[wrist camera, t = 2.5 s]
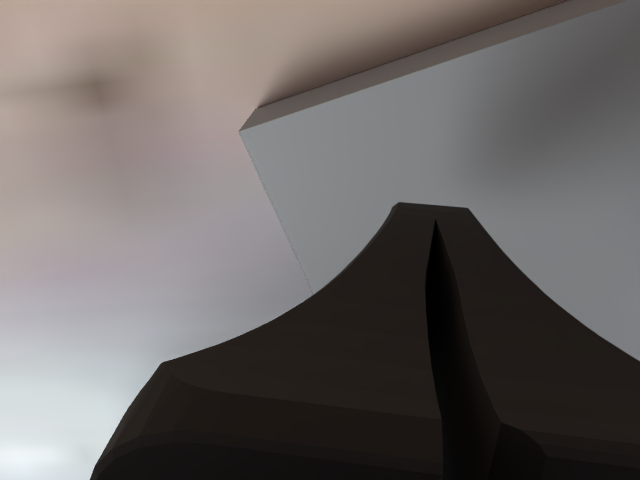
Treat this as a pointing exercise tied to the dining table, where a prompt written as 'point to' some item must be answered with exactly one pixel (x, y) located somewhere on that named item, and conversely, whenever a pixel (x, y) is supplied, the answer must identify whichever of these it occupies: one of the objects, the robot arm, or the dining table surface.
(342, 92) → the dial board
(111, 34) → the dining table surface
